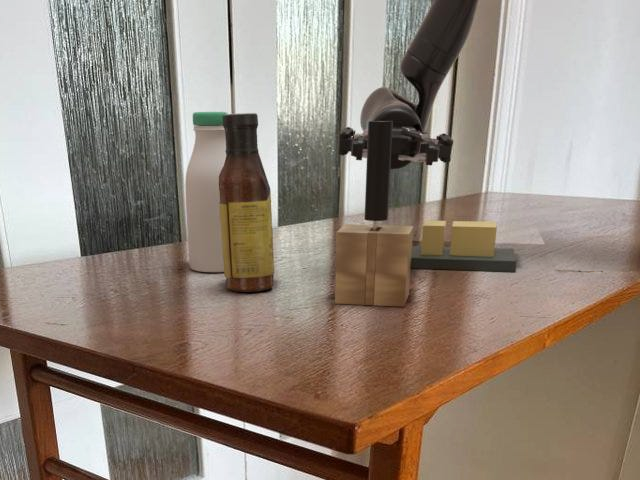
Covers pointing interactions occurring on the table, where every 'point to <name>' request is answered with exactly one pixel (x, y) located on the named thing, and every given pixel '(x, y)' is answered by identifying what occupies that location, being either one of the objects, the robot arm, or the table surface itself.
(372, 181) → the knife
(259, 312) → the table surface
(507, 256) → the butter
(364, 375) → the table surface
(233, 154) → the sauce bottle
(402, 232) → the cardboard box
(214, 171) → the milk bottle
